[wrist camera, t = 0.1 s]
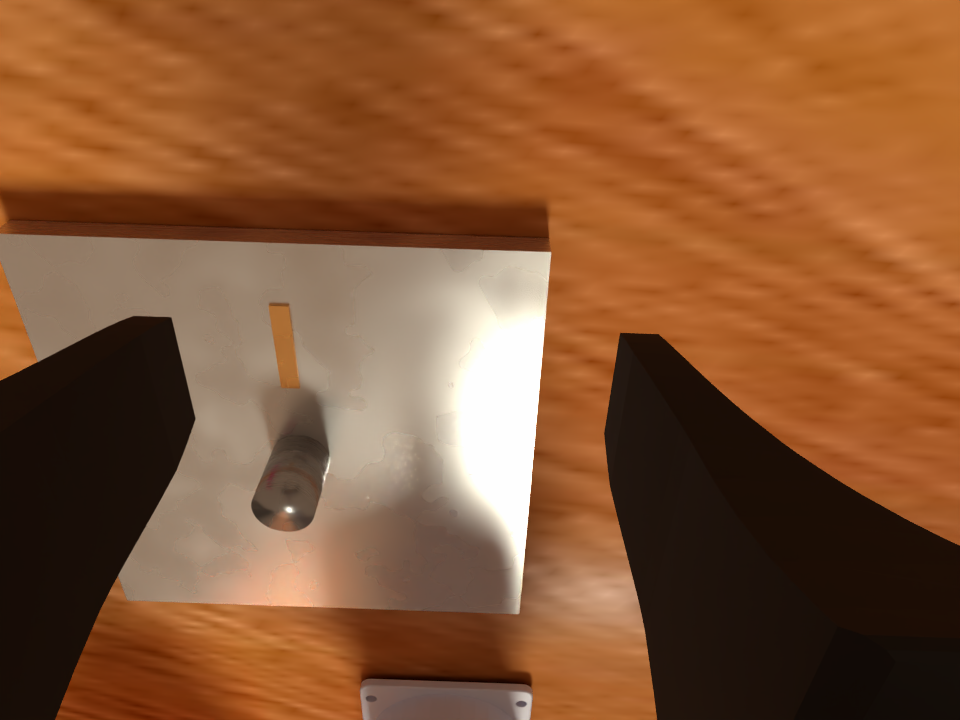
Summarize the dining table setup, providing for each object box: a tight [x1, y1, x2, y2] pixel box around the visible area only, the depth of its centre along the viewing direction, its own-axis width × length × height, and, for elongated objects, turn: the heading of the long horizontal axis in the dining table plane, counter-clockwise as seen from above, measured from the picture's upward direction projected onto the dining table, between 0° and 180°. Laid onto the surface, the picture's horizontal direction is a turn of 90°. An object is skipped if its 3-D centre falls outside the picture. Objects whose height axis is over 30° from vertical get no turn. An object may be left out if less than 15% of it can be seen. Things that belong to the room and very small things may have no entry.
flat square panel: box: [0, 220, 551, 614], centre depth 24 cm, size 16×16×4 cm
